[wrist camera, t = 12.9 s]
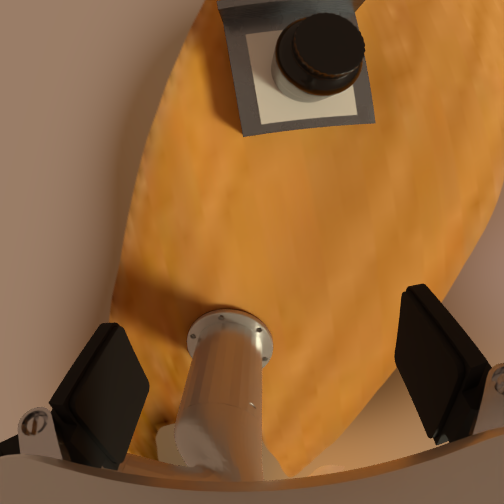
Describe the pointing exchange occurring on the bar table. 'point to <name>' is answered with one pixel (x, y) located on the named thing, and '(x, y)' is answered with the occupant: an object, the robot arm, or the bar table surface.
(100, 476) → the robot arm
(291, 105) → the shelf block
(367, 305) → the bar table surface
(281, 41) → the supplement bottle
